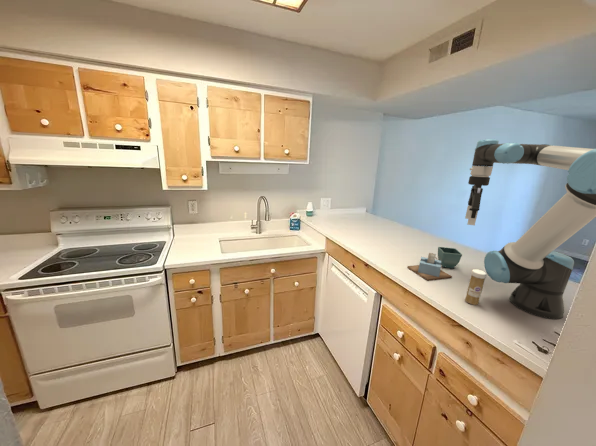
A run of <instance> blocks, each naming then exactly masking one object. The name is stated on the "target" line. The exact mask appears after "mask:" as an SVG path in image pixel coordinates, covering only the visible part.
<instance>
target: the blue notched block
mask: <svg viewBox="0 0 596 446" xmlns="http://www.w3.org/2000/svg"><path fill="white" fill-rule="evenodd" d="M419 260H420V261H419V264H418V265H419V270H418V272H420V273H424V274H428V275H432V276H437V277H439V275H440V270H441V269H442V265H441V261H440V260H438V259H435V261H434V264H430V263H427V260H428V257H424V256H421V257H420V259H419Z"/></svg>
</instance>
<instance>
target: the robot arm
mask: <svg viewBox="0 0 596 446" xmlns="http://www.w3.org/2000/svg"><path fill="white" fill-rule="evenodd" d="M494 163H495V164H507V165H509V164H516V165H517V164H520V165H523V164H526V165H535V166H542V167H548V168H553V169H557V170H558V169H561V170H565V171H567V172H568V174H567V175H566V184H565V186H564V187H565V190H566V193H565V194H563V196H562V197H561V198H560V199H558V201H556V202H555V203H554V204H553V206H551V207H550V208H549V209H548V210H547V211H546V213H544V214H543V215H542V216H541V217H540V218H539V219H538V220H537V221H536V222H535V223H534V224H533V225H532V226H530V228H529V229H528V230H526V232H524V234H523V235H521V237H519V239H517V240H516V241H515V242H514V241H513V242H511V241H510V242H508V243H506V244H505V245H504V246H503V247H502V248H501V249H500V250H490V251H489V252H487V253H486V254H485V257H484V261H483V264H484V265H483V266H484V270H485V272H486V275H488V277H489V278H490V279H491V280H493V281H494V282H497V283H503V284H518V286H517V287H516V288H515V289H514V290H513V291H512V292H511V293H510V297H509V301H510V302H511V303H512V305H514V306H515V307H516V308H519V310H522V311H523V312H526V313H529V314H531V315H534V316H537V317H541V318H544V319H549V320H550V319H551V320H559V319H562V318H563V316H564V313H565V303H564V298H563V296H564V293H565V290H566V288H567V286H568V282H569V280H570V277H571V275H572V271H573V270H574V265H575V261H574V259H573V258H572V257H571V256H569V255H567V254H564V253H561V252H557V251H555V250H556V249H557V248H558V247H560V246H561V245H562V244H564V243H565V242H566V241H567V240H568V239H570V238H571V237H573V236H574V235H575V234H576V233H577V232H579V231H580V230H581V229H583V228H584V227H585V226H586V225H588V224H589V223H591V221H592V220H594V219H595V218H596V148H585V147H576V146H575V147H574V146H564V145H563V146H561V145H553V144H552V145H551V144H547V143H545V144H535V143H533V144H531V143H530V144H528V143H517V142H507V143H499V140H498V139H480V140H478V141H477V143H476V146H475V148H474V154H473V158H472V165H471V167H470V168H469V171H470V174H469V175H470V176H469V178H468V182H467V184H468V185H471V186H472V187H471V189H470V195H469V199H468V201H467V208H466V212H465V216H464V219H466V220H468V221H467V223H466V225H468V226H476V221H477V218H478V214H479V211H480V207H481V201H482V194H483V191H484V188H483V187H482V186H484V187H485V186H489V183H490V179H491V176H492V172H493V167H494Z"/></svg>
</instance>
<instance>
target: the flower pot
mask: <svg viewBox="0 0 596 446" xmlns="http://www.w3.org/2000/svg"><path fill="white" fill-rule="evenodd" d="M462 257H463V253H461V252H460V251H459V249H457V248H454V247H445V246H438V247H437V258H438V259H437V260H440V261H441V267H442V268H449V269H453V268H455V267H457V265H458V264H459V263H460V261H461V258H462Z"/></svg>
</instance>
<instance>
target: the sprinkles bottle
mask: <svg viewBox="0 0 596 446" xmlns="http://www.w3.org/2000/svg"><path fill="white" fill-rule="evenodd" d="M470 274H471V275H470V280H469V282H468V285H467V291H466V295H465V299H464V301H465V302H466V303H468V304H470V305H473V306H476V305H479V301H480V298H481V295H482V291H483V287H484V283H485V280H486V277H487V272H486V271H484V270H481V269H476V268H474V269H472V270H471V273H470Z"/></svg>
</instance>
